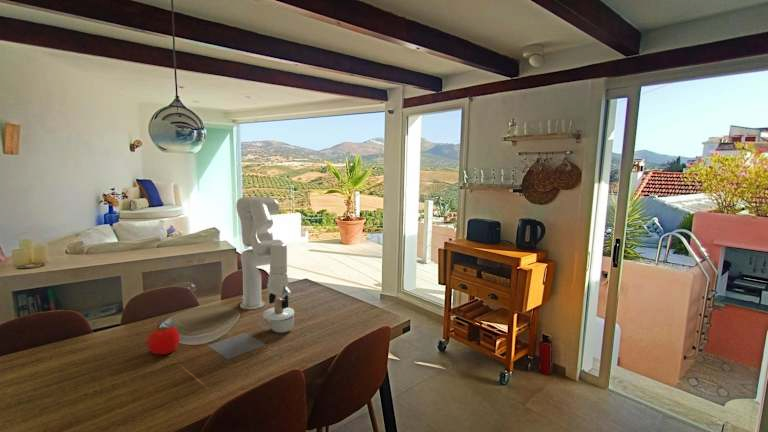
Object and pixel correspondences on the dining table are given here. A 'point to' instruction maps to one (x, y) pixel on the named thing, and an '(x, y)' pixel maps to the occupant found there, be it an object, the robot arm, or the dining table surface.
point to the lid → (278, 311)
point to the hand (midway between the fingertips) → (278, 305)
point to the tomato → (163, 340)
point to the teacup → (281, 324)
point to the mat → (236, 345)
